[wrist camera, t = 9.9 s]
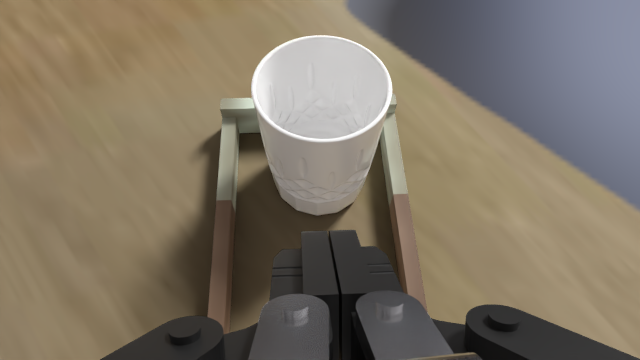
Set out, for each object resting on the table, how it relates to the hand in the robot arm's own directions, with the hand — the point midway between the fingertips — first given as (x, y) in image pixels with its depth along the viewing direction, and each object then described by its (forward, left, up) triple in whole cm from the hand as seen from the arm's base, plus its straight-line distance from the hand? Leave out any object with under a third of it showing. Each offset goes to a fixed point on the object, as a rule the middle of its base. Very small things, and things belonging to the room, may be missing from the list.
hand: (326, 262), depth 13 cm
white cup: (+1, +13, -17) cm, 22 cm away
